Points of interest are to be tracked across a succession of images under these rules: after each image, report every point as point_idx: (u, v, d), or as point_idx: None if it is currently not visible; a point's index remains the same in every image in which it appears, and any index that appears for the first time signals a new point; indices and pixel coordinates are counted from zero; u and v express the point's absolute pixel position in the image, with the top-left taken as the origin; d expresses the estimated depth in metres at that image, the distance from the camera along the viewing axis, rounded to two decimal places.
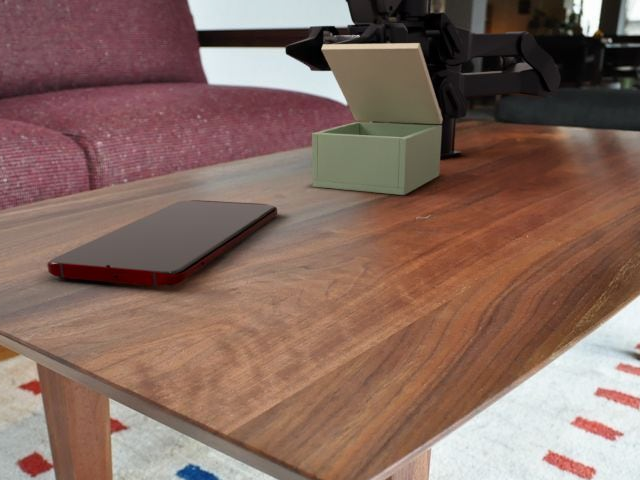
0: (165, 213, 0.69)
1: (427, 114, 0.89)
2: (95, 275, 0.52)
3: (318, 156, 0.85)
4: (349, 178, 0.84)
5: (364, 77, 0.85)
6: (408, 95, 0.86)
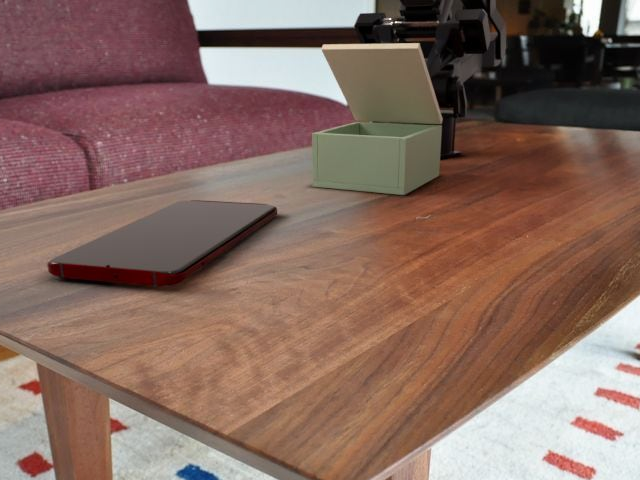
0: (165, 213, 0.69)
1: (427, 114, 0.89)
2: (95, 275, 0.52)
3: (318, 156, 0.85)
4: (349, 178, 0.84)
5: (364, 77, 0.85)
6: (408, 95, 0.86)
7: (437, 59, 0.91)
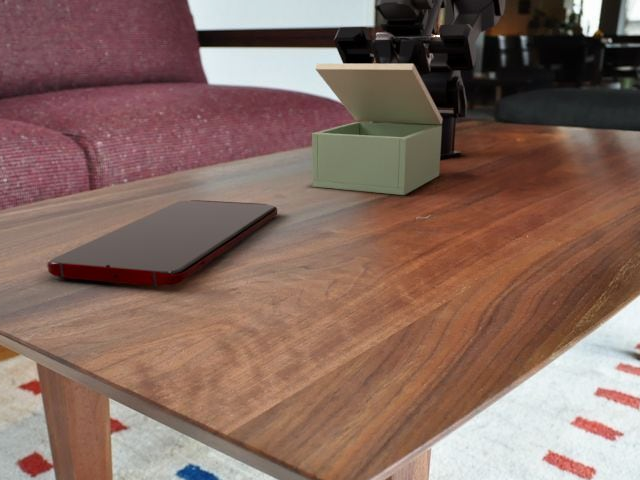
0: (165, 213, 0.69)
1: (426, 117, 0.89)
2: (95, 275, 0.52)
3: (318, 156, 0.85)
4: (349, 178, 0.84)
5: (361, 90, 0.85)
6: (406, 103, 0.86)
7: None
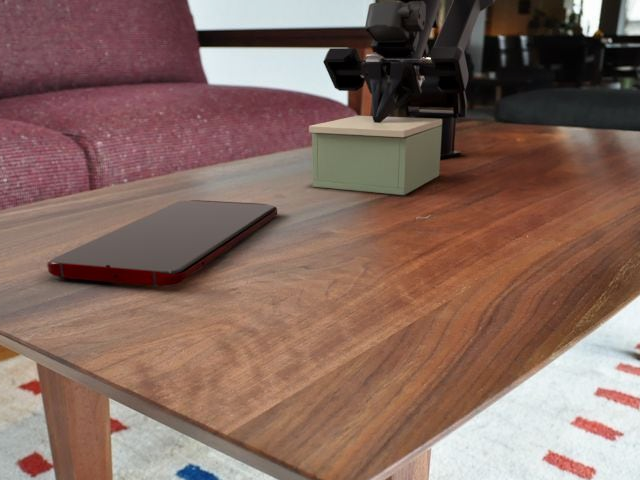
0: (165, 213, 0.69)
1: None
2: (95, 275, 0.52)
3: (318, 156, 0.85)
4: (349, 178, 0.84)
5: None
6: None
7: (391, 99, 0.86)
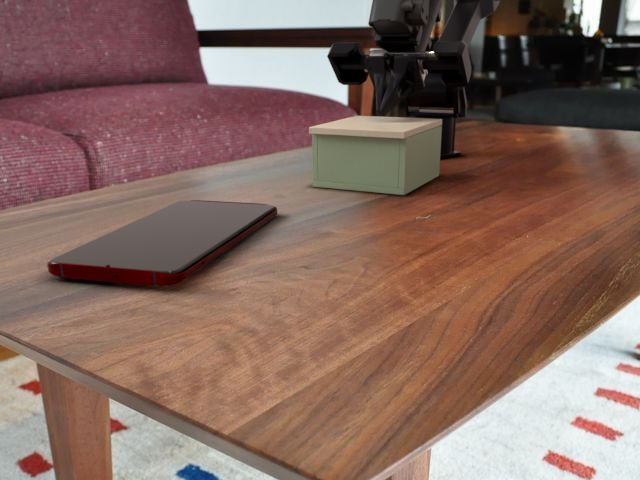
0: (165, 213, 0.69)
1: None
2: (95, 275, 0.52)
3: (318, 156, 0.85)
4: (349, 178, 0.84)
5: None
6: None
7: (395, 93, 0.87)
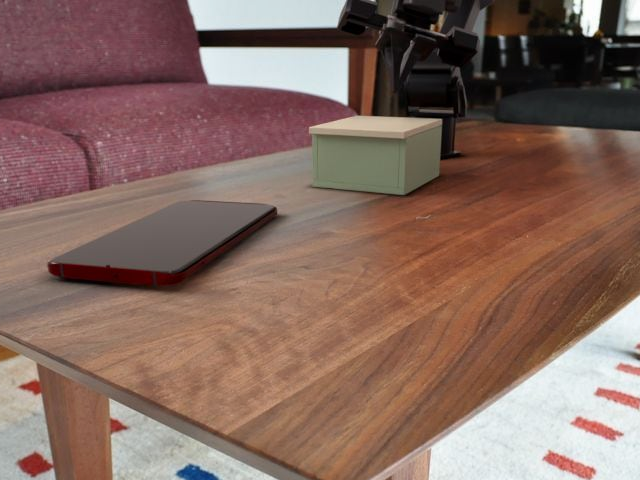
0: (165, 213, 0.69)
1: None
2: (95, 275, 0.52)
3: (318, 156, 0.85)
4: (349, 178, 0.84)
5: None
6: None
7: None
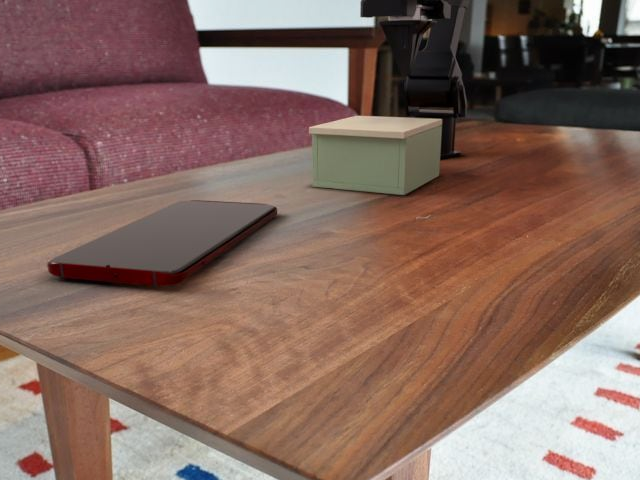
0: (165, 213, 0.69)
1: None
2: (95, 275, 0.52)
3: (318, 156, 0.85)
4: (349, 178, 0.84)
5: None
6: None
7: None
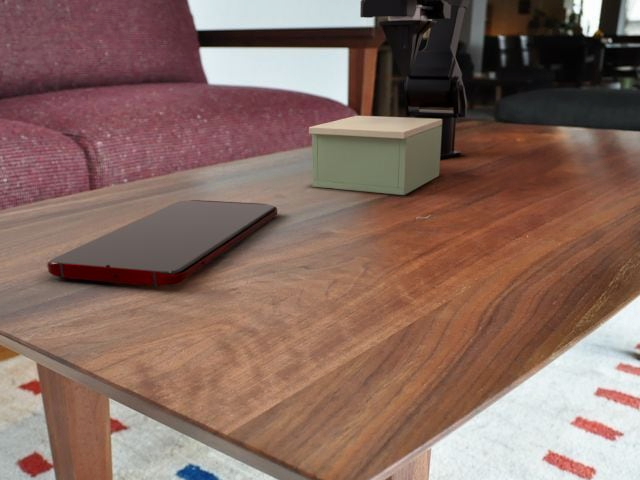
0: (165, 213, 0.69)
1: None
2: (95, 275, 0.52)
3: (318, 156, 0.85)
4: (349, 178, 0.84)
5: None
6: None
7: None
